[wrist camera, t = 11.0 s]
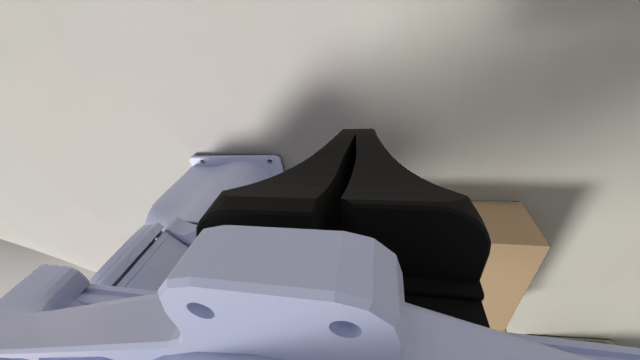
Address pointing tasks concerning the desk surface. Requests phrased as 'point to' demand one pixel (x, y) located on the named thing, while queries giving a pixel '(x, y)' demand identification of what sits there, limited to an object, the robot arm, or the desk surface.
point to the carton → (509, 258)
